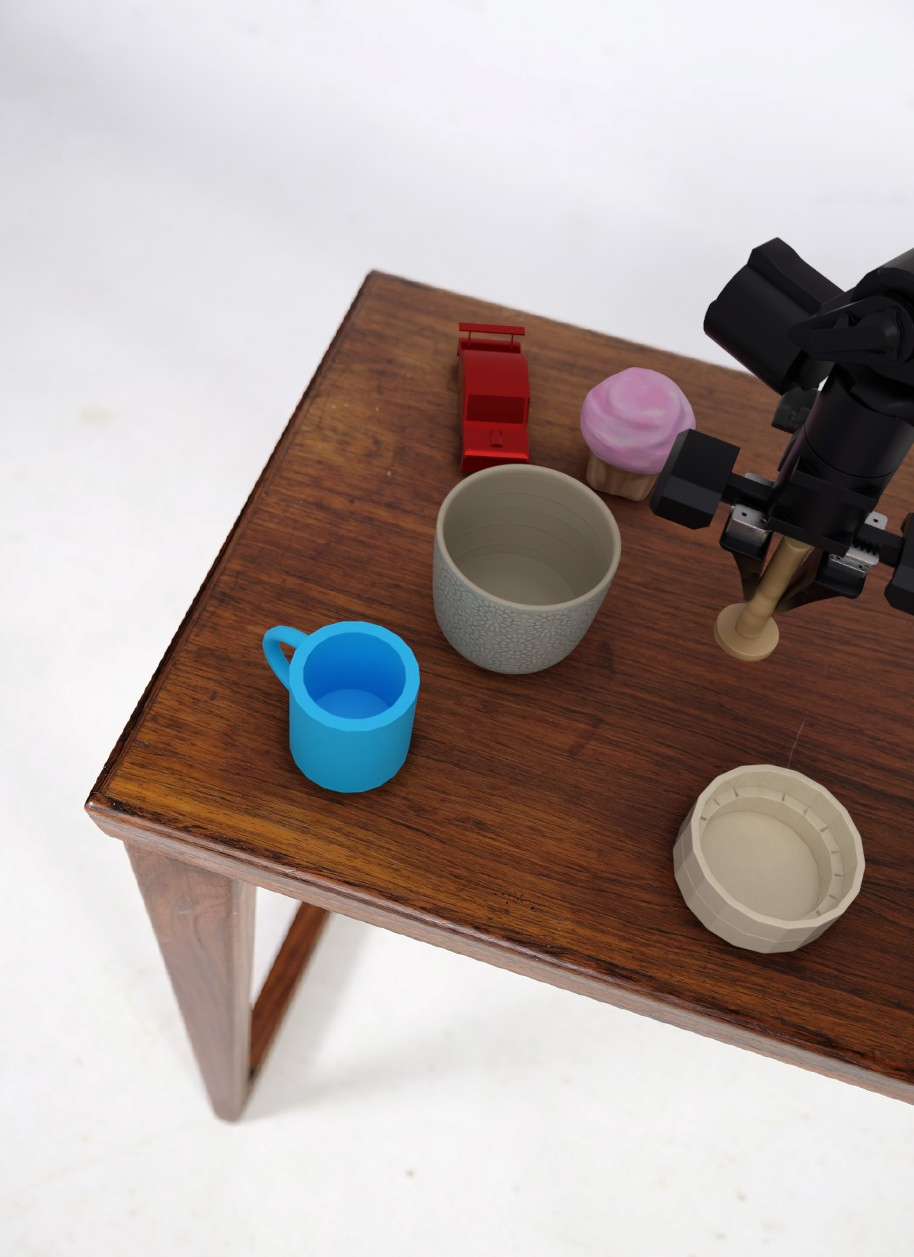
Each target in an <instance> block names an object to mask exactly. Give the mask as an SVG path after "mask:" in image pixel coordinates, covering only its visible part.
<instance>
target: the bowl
mask: <svg viewBox="0 0 914 1257" xmlns="http://www.w3.org/2000/svg"><path fill="white" fill-rule="evenodd" d="M672 848H673V849H672V854H673V855H672V856H673V857H672V858H673V872H674V878H675V881H676V883H677V886H678V888H679V890H680V893H681V895H682V897H683V900H684V902H685V904H686V906H687V907H688V908H689V910H690V911H691V912H692V913H693V914H694V916H696V918H697V919H698V920H699V921H700V922H701V924H702V925H703V926H704V927H705V928H706V929H707V930H708V931H710V932H711V933H713V934H715V935H717V936H718V937H719V938H721V939H722V940H724V941H725V942H728V943H729V944H731V945H732V946H735V947H738V948H741V949H746V950H748V951H749V950H750V951H753V952H757V953H760V954H774V953H787V952H794V951H797V950H798V949H800V948H802V947H805V946H806V945H808V944H810V943H812V942H813V941H816V940H818V939H819V938H820V936H822V935H823V934H824V933H825V932H826V930H828V929H829V928H830V927H831V926H832V925H833V924H834V923H835V922H836V921H837V920H838V919H839V918H841V916H842V915H843V914H844V913H845V912H846V910H847V909H848V908H849V906H850V905H851V904H852V902H853V901H854V900H855V899H856V897H857V896H858V895H859V894H860V890H861V886H862V883H863V877H864V874H865V869H866V861H865V860H866V859H865V855H864V854H865V853H864V848H863V841H862V837H861V833H860V832H859V830H858V828H857V827H856V825H855V823H854V821H853V819H852V817H851V815H850V813H849V812H848V809H847V808H846V807H845V806H844V805H843V804H842V803H841V802H840V801H839V800H838V799H837V798H836V797H835V796H834V795H833V794H832V793H831V792H830V791H829V790H828V789H827V788H826V787H825V786H824V785H822V784H820V783H818V782H816V781H815V780H814V779H811V778H809V777H808V776H806V775H805V774H803V773H802V772H799V771H797V770H793V769H790V768H786V767H781V766H778V765H774V764H768V763H767V764H766V763H765V764H752V765H749V764H748V765H740V766H737V767H735V768H733V769H731V770H728V771H726V772H724V773H721V774H720V775H718V776H716V777H715V778H714V779H713V780H712V781H711V782H710V783H709V784H708V785H707V787H706V788H705V789H704V790H703V791H702V792H701V793H700V794H699V796H698V797H697V799H696V800H695V801H694V803H693V805H692V807H691V809H690V810H689V811H688V814H686V816H685V818H684V819H683V821H682V823H681V825H680V827H679V830H678V832H677V836H676V838H675V842H674V845H673V847H672Z"/></svg>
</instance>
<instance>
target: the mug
mask: <svg viewBox="0 0 914 1257" xmlns="http://www.w3.org/2000/svg"><path fill="white" fill-rule="evenodd" d="M280 642H282V643H285V644H286V645H288V646H290V647H292V648H294V649H295V650H294V654H293V656H292V658H291V661H290V662H289V661H288V660H287V658H286V656H285V653H284V652H283V650H282V648H281V643H280ZM262 649H263V652H264V657H265V658H266V661H267V662H268V665H269V667H270V668H271V670H272V671H273V673H274V674H275V676H276V677H277V679H278V680H279V681H280V683H281V684H282V685H283V686H284V687H285V689H287V691H288V692H289V750H290V752H291V755H292V758H293V760H294V764H295V765H296V766H297V767H298V768H299V770H300V771H301V772H302V773H303V775H304V776H305V777H306V778H307V779H308V780H310V781H312V782H313V783H314V784H317V785H318V786H320V787H322V788H323V789H326V790H327V789H328V790H330V791H334V792H338V793H343V794H344V793H362V792H366V791H369V790H372V789H375V788H378V787H381V786H383V785H384V784H385V783H386V782H388V781H389V780H390V779H392V778H394V777H395V776H396V775H397V773H398V772H399V770H400V769H401V768H402V766H403V765H404V764H405V762H406V759H407V755H408V752H409V748H410V747H411V746H410V745H411V738H412V733H413V727H414V720H415V715H416V708H417V702H418V696H419V690H420V683H421V680H420V668H419V663H418V661H417V659H416V657H415V655H414V652H413V650H412V649H411V647H410V646H409V645H407V643H406V642H405V641H404V640H403V639H402V638H401V637H400V636H399V635H397V634H396V633H394V632H393V631H390V630H389V629H387V628H386V627H383V625H378V624H375V623H370V622H368V621H367V622H366V621H361V620H360V621H359V620H357V621H344V620H343V621H340V622H336V623H332V624H329V625H323V626H322V627H321V628H319V629H317V630H315V631H314V632H313V633H311V634H309V635H308V634H307V633H305V632H303V631H301V630H299V629H298V628H297V629H296V628H294V627H292V626H286V625H276V626H274V627H272V628H269V629H268V630H267V631H266V632H265V633H264V636H263V639H262Z"/></svg>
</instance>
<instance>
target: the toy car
mask: <svg viewBox="0 0 914 1257" xmlns="http://www.w3.org/2000/svg"><path fill="white" fill-rule="evenodd" d="M525 329H526V328H525V326H515V325H503V324H502V325H501V324H490V323H489V324H487V323H474V322H462V321H461V322H460V321H459V322H458V332H466V333H468V337H465V336H460V337H459V338H458V343H457V349H456V357H458V362H457V363H458V364H457V395H458V396H457V399H458V423H459V424H458V426H459V427H458V428H459V440H460V441H461V451H460V458H461V459H460V472H461V473H472V474H474V473H476V472H479V471H481V470H484V469H487V468H491V467H495V466H500V465H508V464H527V465H530V460H531V453H530V441H529V429H528V422H529V414H530V404H531V386H530V385H531V384H530V374H529V362H528V357H527V354H526V353H522V343H521V340H520V341H519V340H514V336H520V337H526V330H525ZM472 333H480V334H492V335H507V336H510V340H507V339H493V338H492V339H491V338H481V337H480V338H477V337H472Z"/></svg>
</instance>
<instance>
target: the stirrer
mask: <svg viewBox="0 0 914 1257" xmlns="http://www.w3.org/2000/svg"><path fill="white" fill-rule="evenodd" d="M811 548H812V546H811V545H808V544H805V543H803V542H800V541H798V540H795V539H792V538H790V537H787V536H785V535H782V537H781V539H780V541H779V543H778V545H777V547H776V548H775V550H774V552H773V554H772V556H771V558H770V559H769V561H768V563H767V565H766V567H765V569H764V570H763V571H762V574H761V577H760V580H759V583H758V586H757V588H756V591H755V594H754V596H753V597H752V599H751V600H750V601H746V603H744V602H743V603H742V602H740V603H739V602H738V603H733V604H730V605H727V606H726V607H724V608H723V609H722V610H721V611H720V612H719V613H718V615H717V618H716V619H715V622H714V624H713V634H714V638H715V640H716V642H717V644H718V646H719V647H720V648H721V649H722V650H723V651H724V652H725V653H726V654H728V655H729V656H731V657H732V658H734V659H737V660H738V661H739V660H740V661H744V662H758V661H762V660H764V659H766V658H768V657H770V656H771V655H772V653H773V652H774V650H775V649H776V647H777V645H778V643H779V639H780V630H779V627H778V625H777V623H776V621H775V619H774V618H773V617H772V615H773V613H774V612H775V608H776V606H777V605H778V603H779V601H780V600H781V598H782V596H783V594H784V593H785V591H786V589H787V588H788V586H789V584H790V582H791V581H792V579H793V577H794V575H795V574H796V572H797V570H798V569H799V568H800V566H801V565H802V564H803V562H804V561H805V558H806V556H807V555H808V553H809V551H810V550H811Z"/></svg>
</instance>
